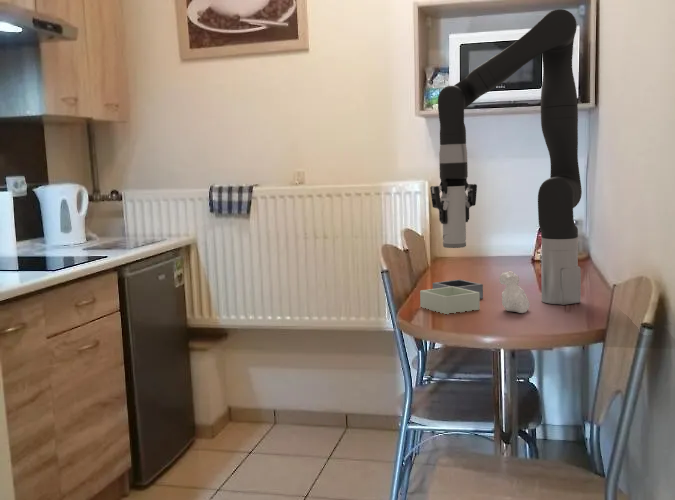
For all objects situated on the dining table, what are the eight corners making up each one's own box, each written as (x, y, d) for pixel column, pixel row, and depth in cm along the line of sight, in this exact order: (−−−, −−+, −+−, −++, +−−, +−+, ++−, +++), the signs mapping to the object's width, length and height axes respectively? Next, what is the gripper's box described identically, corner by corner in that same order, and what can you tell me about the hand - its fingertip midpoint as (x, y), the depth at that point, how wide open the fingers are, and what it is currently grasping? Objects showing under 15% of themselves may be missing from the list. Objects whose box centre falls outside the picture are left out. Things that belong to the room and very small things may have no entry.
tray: (479, 309, 182) (479, 292, 182) (445, 314, 178) (445, 297, 177) (453, 302, 193) (452, 286, 192) (420, 307, 188) (420, 290, 188)
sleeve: (482, 298, 197) (482, 284, 196) (454, 302, 193) (454, 287, 192) (460, 292, 206) (460, 279, 206) (432, 296, 202) (432, 282, 202)
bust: (514, 314, 186) (487, 280, 186) (538, 297, 183) (510, 263, 184) (513, 324, 174) (484, 288, 175) (539, 306, 172) (509, 270, 173)
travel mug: (439, 247, 193) (437, 174, 190) (447, 245, 199) (446, 173, 196) (461, 248, 190) (460, 173, 187) (469, 245, 196) (468, 173, 193)
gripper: (438, 162, 185) (440, 225, 187) (483, 160, 191) (484, 221, 193) (423, 162, 192) (424, 224, 194) (467, 160, 198) (468, 220, 200)
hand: (454, 222), depth 193 cm, fingers closed on travel mug, 6 cm apart
